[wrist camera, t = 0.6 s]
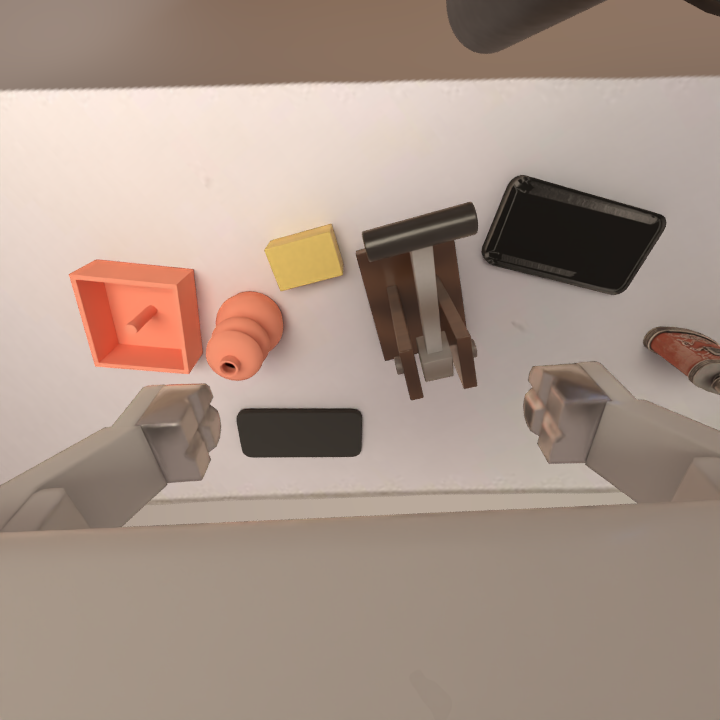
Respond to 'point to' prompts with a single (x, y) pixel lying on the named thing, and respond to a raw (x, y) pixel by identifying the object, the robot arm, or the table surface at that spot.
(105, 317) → the pottery
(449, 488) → the table surface
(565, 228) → the phone
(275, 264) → the butter block
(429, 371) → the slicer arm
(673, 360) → the lighter
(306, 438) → the phone
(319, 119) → the table surface
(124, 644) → the robot arm
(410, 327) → the brown wooden frame
